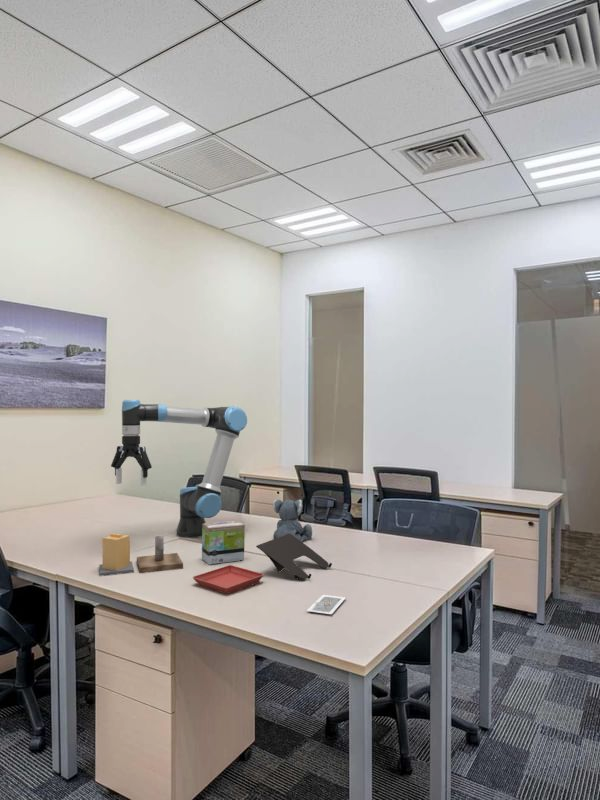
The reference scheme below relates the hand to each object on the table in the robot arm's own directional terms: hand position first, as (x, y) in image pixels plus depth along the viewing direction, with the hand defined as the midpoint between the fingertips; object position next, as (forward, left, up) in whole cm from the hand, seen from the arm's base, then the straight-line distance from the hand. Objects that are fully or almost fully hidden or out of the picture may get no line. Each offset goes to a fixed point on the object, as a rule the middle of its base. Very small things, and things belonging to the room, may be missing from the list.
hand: (131, 484), depth 233 cm
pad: (+7, +26, -29) cm, 39 cm away
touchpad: (-52, +90, -29) cm, 109 cm away
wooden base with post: (-9, +26, -29) cm, 40 cm away
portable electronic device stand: (-57, +53, -29) cm, 83 cm away
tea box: (-34, +28, -29) cm, 53 cm away
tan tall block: (+7, +26, -28) cm, 39 cm away
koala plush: (-70, +8, -29) cm, 76 cm away
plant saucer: (-29, +58, -29) cm, 71 cm away
